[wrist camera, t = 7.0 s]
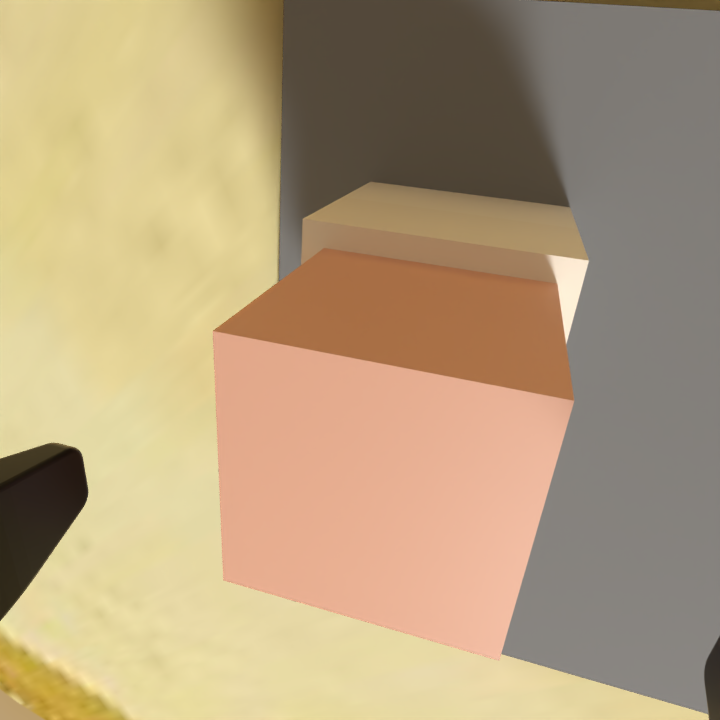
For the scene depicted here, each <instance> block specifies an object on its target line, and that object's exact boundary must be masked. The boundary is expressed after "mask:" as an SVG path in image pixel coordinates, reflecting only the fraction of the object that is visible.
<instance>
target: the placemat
mask: <svg viewBox="0 0 720 720" xmlns="http://www.w3.org/2000/svg"><path fill="white" fill-rule="evenodd" d="M369 182H377V183H385V184H393V185H401V186H409V187H416V188H424V189H432V190H440V191H448V192H455V193H463V194H471V195H479V196H486V197H494V198H502V199H510V200H518V201H525V202H533V203H541V204H549V205H557V206H564V207H570V209H571V211H572V214H573V217H574V220H575V223H576V225H577V228H578V231H579V234H580V237H581V240H582V242H583V245H584V248H585V251H586V254H587V256H588V259H589V262H588V266H587V270H586V273H585V277H584V281H583V285H582V288H581V292H580V296H579V299H578V303H577V307H576V310H575V314H574V318H573V321H572V325H571V329H570V332H569V336H568V340H567V344H566V347H567V354H568V361H569V368H570V374H571V381H572V388H573V395H574V404H573V407H572V411H571V414H570V418H569V421H568V424H567V428H566V431H565V435H564V438H563V442H562V445H561V449H560V452H559V456H558V459H557V462H556V466H555V469H554V473H553V476H552V480H551V483H550V487H549V490H548V494H547V497H546V500H545V504H544V507H543V511H542V514H541V518H540V521H539V525H538V528H537V532H536V535H535V539H534V542H533V545H532V549H531V552H530V556H529V559H528V563H527V566H526V570H525V573H524V577H523V580H522V583H521V587H520V590H519V594H518V597H517V601H516V604H515V608H514V611H513V615H512V618H511V621H510V625H509V628H508V632H507V635H506V639H505V642H504V646H503V649H502V653H501V654H503V655H507V656H510V657H514V658H517V659H520V660H524V661H527V662H531V663H534V664H538V665H541V666H545V667H548V668H551V669H555V670H558V671H562V672H565V673H569V674H572V675H576V676H579V677H582V678H586V679H589V680H593V681H596V682H600V683H603V684H606V685H610V686H613V687H617V688H620V689H624V690H627V691H631V692H634V693H637V694H641V695H644V696H648V697H651V698H655V699H658V700H662V701H665V702H668V703H672V704H675V705H679V706H682V707H686V708H689V709H693V710H696V711H699V712H703V713H706V714H708V707H707V699H706V691H705V683H704V669H705V664H706V660H707V658H708V656H709V654H710V652H711V650H712V649H713V647H714V645H715V643H716V641H717V639H718V638H719V636H720V11H713V10H696V9H679V8H661V7H644V6H626V5H609V4H591V3H574V2H556V1H539V0H284V20H283V79H282V138H281V197H280V256H279V281H281V280H282V279H283V278H285V277H286V276H287V275H289V274H290V273H291V272H293V271H294V270H295V269H297V268H298V267H299V266H301V254H302V225H303V218H305V217H307V216H309V215H311V214H312V213H314V212H316V211H318V210H320V209H322V208H323V207H325V206H327V205H329V204H331V203H333V202H334V201H336V200H338V199H340V198H342V197H343V196H345V195H347V194H349V193H351V192H353V191H354V190H356V189H358V188H360V187H362V186H364V185H365V184H367V183H369Z"/></svg>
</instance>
